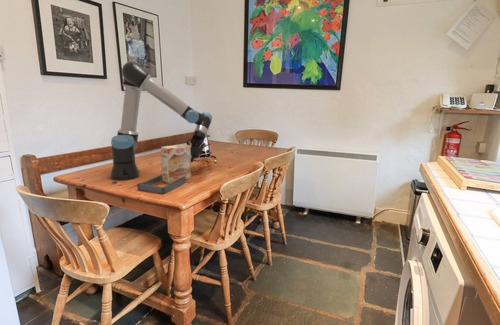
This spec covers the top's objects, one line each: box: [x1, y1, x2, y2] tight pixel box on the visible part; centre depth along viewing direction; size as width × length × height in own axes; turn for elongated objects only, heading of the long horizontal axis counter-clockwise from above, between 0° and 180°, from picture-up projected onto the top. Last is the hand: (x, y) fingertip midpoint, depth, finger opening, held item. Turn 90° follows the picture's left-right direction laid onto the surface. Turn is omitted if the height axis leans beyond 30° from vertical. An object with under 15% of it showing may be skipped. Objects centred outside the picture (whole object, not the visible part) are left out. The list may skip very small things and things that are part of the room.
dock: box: [137, 173, 187, 195], centre depth 150 cm, size 15×20×3 cm
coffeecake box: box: [160, 143, 192, 184], centre depth 159 cm, size 15×7×20 cm, turn 139°
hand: (187, 166), depth 167 cm, fingers closed
